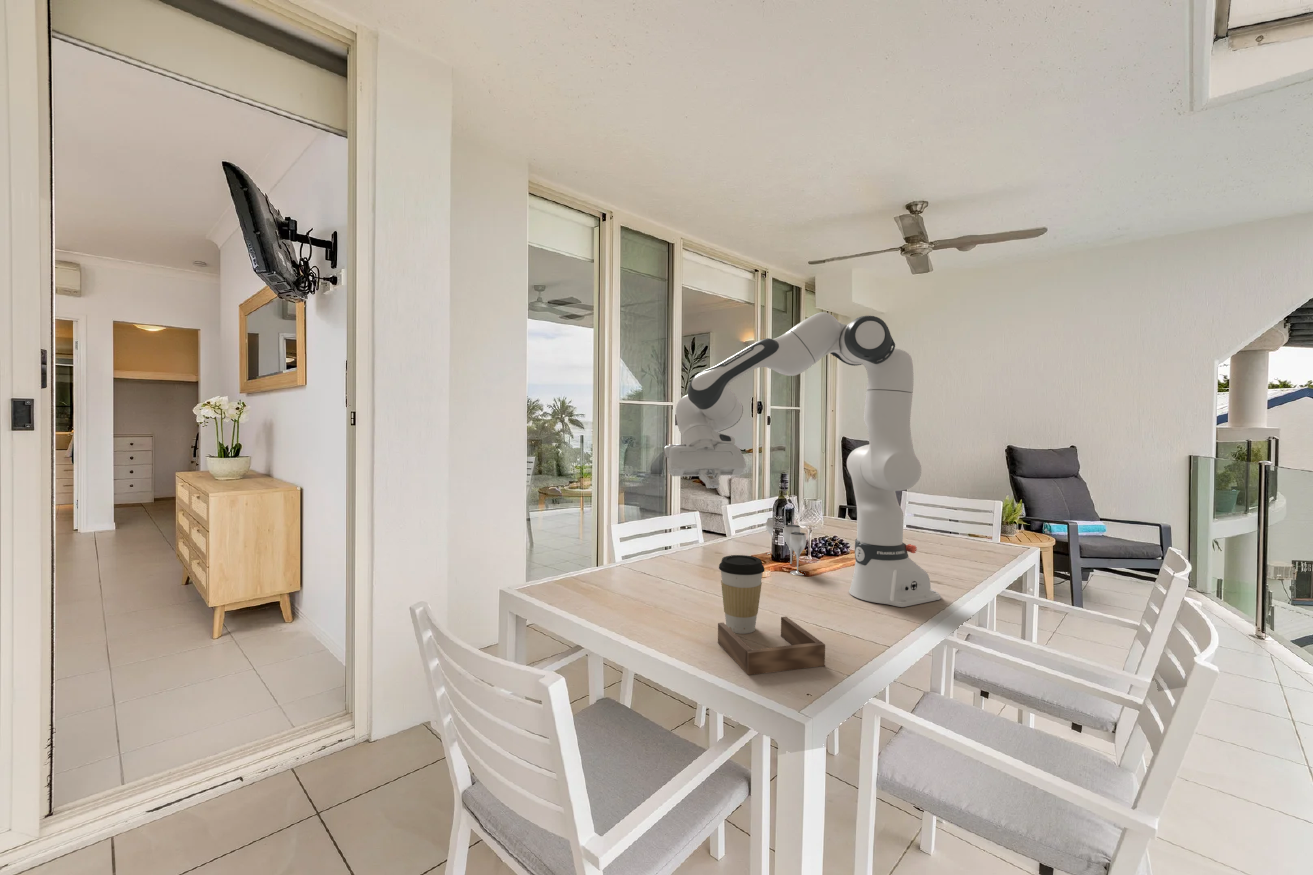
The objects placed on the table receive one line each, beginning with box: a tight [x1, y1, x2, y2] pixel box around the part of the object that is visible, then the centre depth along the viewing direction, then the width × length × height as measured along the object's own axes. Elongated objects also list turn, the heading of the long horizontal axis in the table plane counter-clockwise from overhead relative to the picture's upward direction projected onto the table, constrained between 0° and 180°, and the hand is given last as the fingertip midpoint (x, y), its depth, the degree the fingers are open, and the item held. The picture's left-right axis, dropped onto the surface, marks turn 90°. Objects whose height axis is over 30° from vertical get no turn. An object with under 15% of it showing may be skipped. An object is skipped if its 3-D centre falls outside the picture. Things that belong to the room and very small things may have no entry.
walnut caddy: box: [717, 616, 826, 676], centre depth 107 cm, size 15×15×4 cm
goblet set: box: [765, 517, 807, 576], centre depth 174 cm, size 28×6×13 cm, turn 5°
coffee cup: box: [718, 554, 765, 635], centre depth 120 cm, size 10×10×15 cm
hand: (713, 486), depth 136 cm, fingers closed
